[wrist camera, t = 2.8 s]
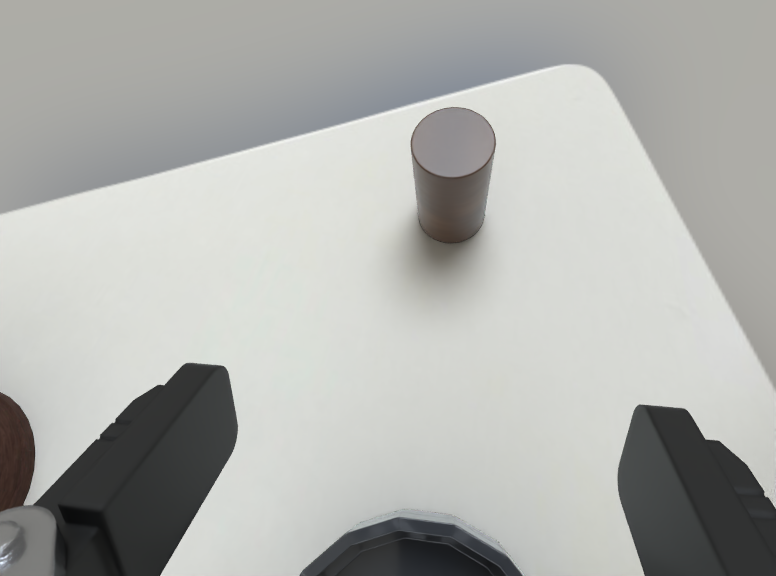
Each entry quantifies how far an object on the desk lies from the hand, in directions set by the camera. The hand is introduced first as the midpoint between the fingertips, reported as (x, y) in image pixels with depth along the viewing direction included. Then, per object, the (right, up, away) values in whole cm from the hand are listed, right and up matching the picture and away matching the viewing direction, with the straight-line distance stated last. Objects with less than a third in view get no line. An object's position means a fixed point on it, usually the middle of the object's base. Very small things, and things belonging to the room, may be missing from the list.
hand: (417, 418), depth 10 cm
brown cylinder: (+4, +8, +23) cm, 25 cm away
